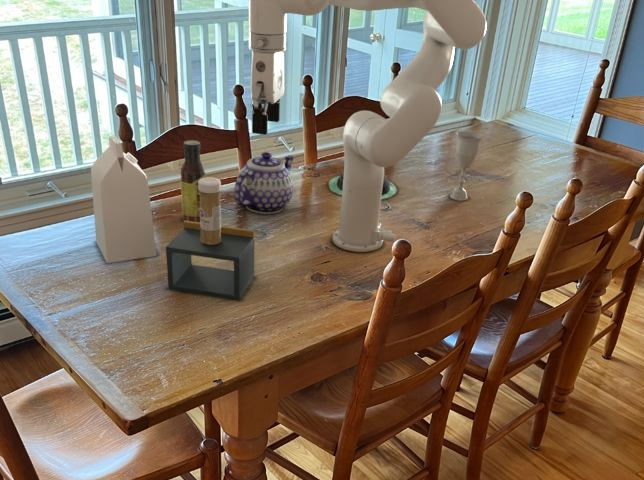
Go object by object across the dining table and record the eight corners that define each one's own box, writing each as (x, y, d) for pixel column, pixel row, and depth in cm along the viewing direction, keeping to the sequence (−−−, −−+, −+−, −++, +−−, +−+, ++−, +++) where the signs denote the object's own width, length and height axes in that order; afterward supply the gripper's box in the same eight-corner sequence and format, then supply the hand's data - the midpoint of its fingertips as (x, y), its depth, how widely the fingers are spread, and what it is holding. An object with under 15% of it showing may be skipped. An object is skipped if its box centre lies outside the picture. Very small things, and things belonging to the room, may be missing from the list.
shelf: (254, 277, 162) (254, 230, 156) (239, 300, 153) (239, 251, 147) (186, 267, 165) (184, 220, 158) (168, 289, 156) (165, 240, 149)
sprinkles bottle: (195, 241, 153) (193, 180, 146) (211, 235, 156) (209, 174, 149) (210, 248, 151) (209, 186, 143) (226, 241, 154) (225, 180, 146)
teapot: (256, 228, 184) (257, 171, 176) (212, 212, 192) (210, 156, 183) (314, 201, 201) (317, 148, 193) (272, 187, 209) (273, 135, 200)
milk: (96, 242, 174) (82, 133, 159) (143, 235, 178) (134, 129, 163) (107, 263, 165) (93, 150, 150) (156, 255, 169) (148, 145, 154)
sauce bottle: (202, 225, 185) (199, 148, 173) (178, 222, 185) (174, 145, 174) (210, 215, 190) (207, 140, 179) (187, 212, 191) (183, 137, 180)
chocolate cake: (394, 201, 202) (323, 196, 204) (395, 210, 220) (330, 205, 222) (400, 147, 200) (328, 142, 203) (400, 160, 219) (334, 155, 221)
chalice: (443, 198, 208) (453, 136, 198) (448, 191, 213) (459, 129, 203) (468, 203, 206) (480, 140, 195) (473, 195, 211) (485, 133, 201)
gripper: (274, 51, 138) (272, 140, 147) (295, 35, 152) (292, 118, 161) (236, 47, 139) (237, 136, 148) (261, 32, 153) (260, 114, 162)
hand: (266, 127), depth 155 cm, fingers open, 9 cm apart
